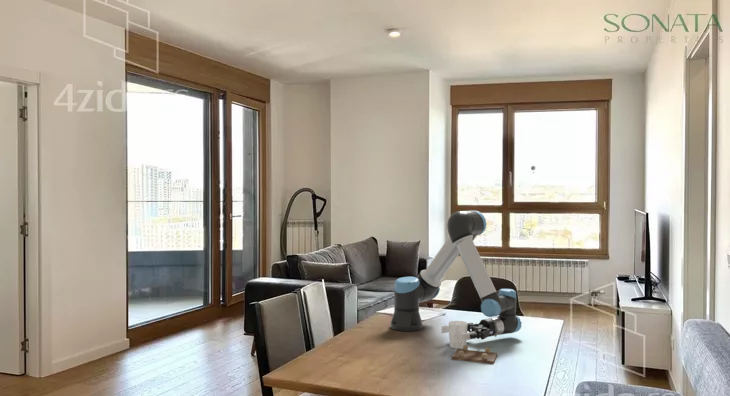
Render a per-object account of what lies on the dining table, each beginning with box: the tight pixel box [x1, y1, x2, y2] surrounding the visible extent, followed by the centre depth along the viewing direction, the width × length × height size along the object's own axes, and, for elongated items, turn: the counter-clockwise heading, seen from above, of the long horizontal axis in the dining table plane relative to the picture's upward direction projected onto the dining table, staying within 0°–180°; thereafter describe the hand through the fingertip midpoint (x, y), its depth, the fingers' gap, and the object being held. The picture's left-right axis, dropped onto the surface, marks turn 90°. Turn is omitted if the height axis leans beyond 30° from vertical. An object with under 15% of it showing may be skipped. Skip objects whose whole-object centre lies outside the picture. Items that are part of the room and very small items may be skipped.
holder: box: [451, 344, 498, 365], centre depth 226 cm, size 16×12×3 cm
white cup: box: [448, 320, 469, 350], centre depth 241 cm, size 8×8×10 cm
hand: (452, 333), depth 240 cm, fingers open, 13 cm apart
